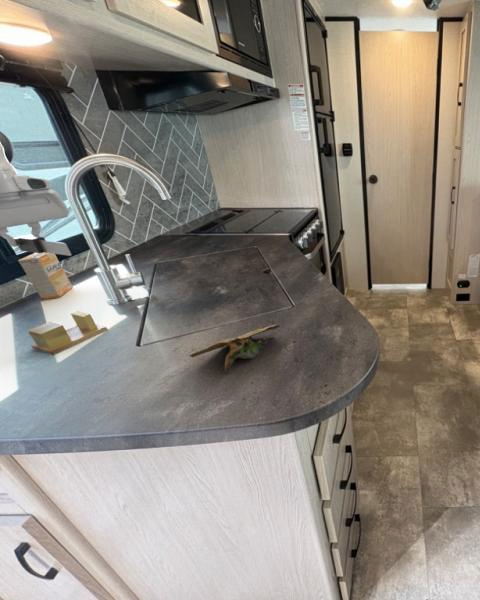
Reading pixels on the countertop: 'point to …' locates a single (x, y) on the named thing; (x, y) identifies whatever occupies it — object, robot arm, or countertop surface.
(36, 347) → the butter board
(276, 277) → the countertop surface
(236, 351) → the dried leafy seed pod
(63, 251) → the knife
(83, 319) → the butter slice
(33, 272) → the supplement box
